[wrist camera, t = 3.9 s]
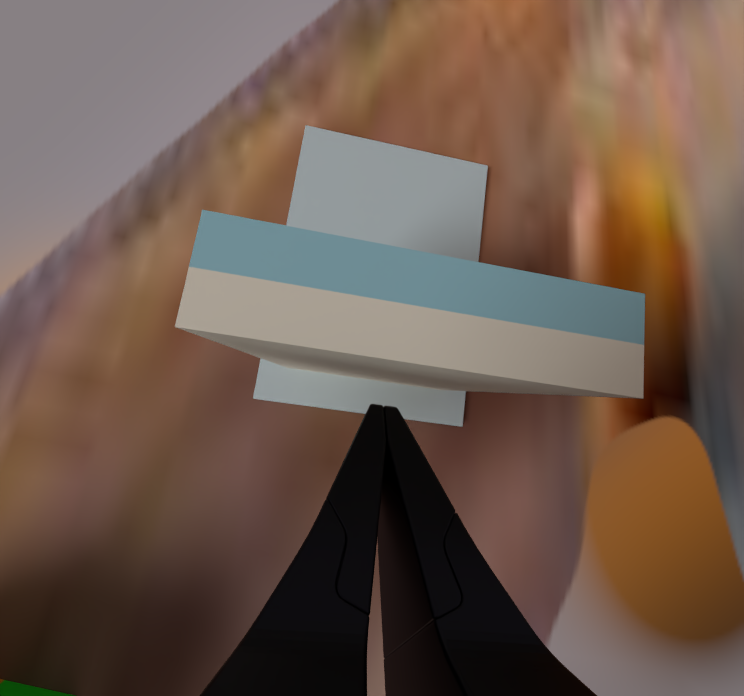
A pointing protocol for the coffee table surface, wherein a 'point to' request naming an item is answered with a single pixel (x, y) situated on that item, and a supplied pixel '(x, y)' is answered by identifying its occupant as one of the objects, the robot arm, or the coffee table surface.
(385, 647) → the robot arm
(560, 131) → the coffee table surface
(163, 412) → the coffee table surface
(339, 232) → the mat
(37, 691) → the puzzle toy
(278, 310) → the tile
